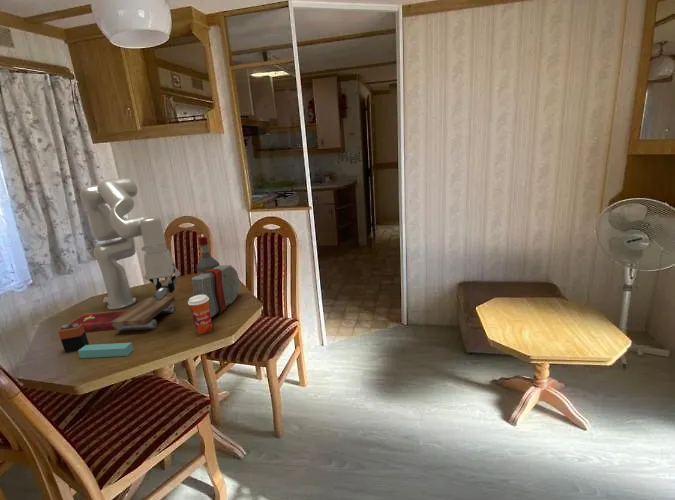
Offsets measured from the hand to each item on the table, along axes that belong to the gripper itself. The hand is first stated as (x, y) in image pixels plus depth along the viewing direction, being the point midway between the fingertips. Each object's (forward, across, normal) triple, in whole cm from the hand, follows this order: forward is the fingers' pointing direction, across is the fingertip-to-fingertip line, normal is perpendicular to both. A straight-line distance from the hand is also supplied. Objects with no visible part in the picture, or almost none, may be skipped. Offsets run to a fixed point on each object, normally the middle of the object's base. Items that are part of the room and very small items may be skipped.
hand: (166, 292), depth 147 cm
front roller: (+15, -15, +2) cm, 22 cm away
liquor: (+15, +10, +29) cm, 34 cm away
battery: (+15, -33, -9) cm, 38 cm away
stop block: (+15, -18, -17) cm, 29 cm away
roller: (+1, 0, 0) cm, 1 cm away
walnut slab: (+11, -14, +9) cm, 20 cm away
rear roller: (+15, -13, +16) cm, 25 cm away
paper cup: (+15, +14, -8) cm, 23 cm away
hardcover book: (+16, -35, +11) cm, 40 cm away
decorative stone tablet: (+15, +17, +12) cm, 26 cm away
